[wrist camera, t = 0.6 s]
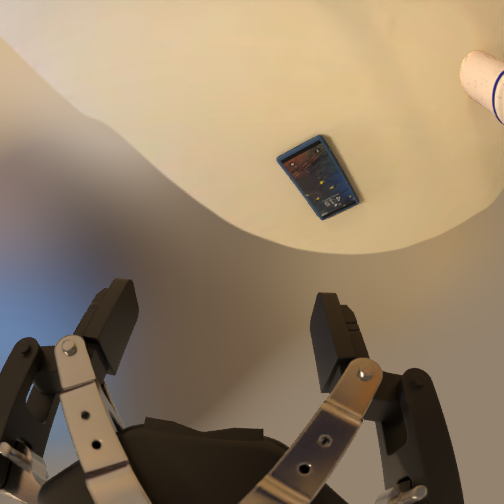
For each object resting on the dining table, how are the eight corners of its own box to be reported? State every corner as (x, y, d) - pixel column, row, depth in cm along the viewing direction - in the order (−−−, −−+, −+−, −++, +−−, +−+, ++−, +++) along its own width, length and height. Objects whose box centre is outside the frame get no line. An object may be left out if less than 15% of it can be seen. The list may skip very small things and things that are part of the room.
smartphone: (321, 135, 36) (360, 203, 45) (320, 132, 37) (359, 200, 46) (274, 160, 39) (321, 222, 49) (274, 157, 40) (320, 218, 49)
